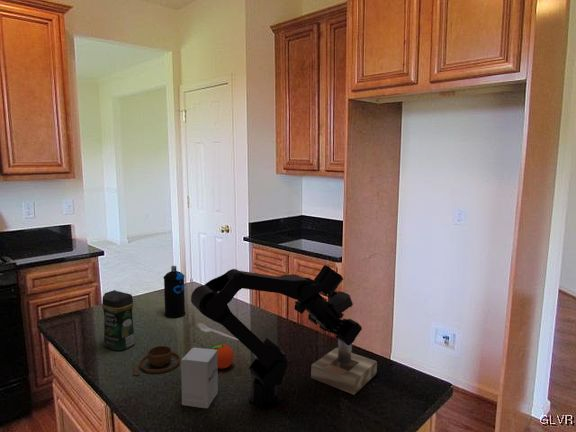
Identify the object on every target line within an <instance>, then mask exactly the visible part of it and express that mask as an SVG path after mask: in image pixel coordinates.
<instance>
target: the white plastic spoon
mask: <svg viewBox="0 0 576 432" xmlns="http://www.w3.org/2000/svg"><path fill="white" fill-rule="evenodd" d="M196 325H197V327H198V329H199V330H200V331H202V332H205V333H209V332H210V333H215V334H217V335H220V336H222V337H226V338H228V339H231V340H235V341H238V342H240V341H239V340H238V339H237V338H236V337H235V336H233V335H229V334H226V333H224V332H221V331H219V330H217V329H214V328H211V327H208V326H207V325H205V324H204V323H203V322H201V321H200V323H197V324H196Z"/></svg>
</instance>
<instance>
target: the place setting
mask: <svg viewBox="0 0 576 432" xmlns="http://www.w3.org/2000/svg"><path fill="white" fill-rule="evenodd" d="M172 358H173V359H175V361H176V363H174V364H173V365H171V366H169V367H165V366H166V365H168V363H169V362H170V361H171V360H172ZM147 361H148V362H149V364H151V365H152V366H154V367H156V368H160V367H165V368H161V369H148V368H145V367H144V364H145V363H146V362H147ZM180 363H181V357H180V355H179V354H178V353H177V352H173V351H172V348H171V347H170V346H167V345H158V346H154V347H152V348H150V349H149V350H148V351H147V355H146V356H144V357H142V358H141V359H140V361H139V367H140V370H142V371H143V372H145V373H147V374H163V373H166V372H170V371H172V370H174V369H176V368H177V367H178V365H180ZM131 369H132V370H133V372H132V375H133V376H135V377H137V376H140V374H141V372H140V371H138V370H136V369H135V367H134V366H132V367H131Z"/></svg>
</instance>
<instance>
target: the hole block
mask: <svg viewBox="0 0 576 432" xmlns="http://www.w3.org/2000/svg"><path fill="white" fill-rule="evenodd" d="M310 367H311V368H310V369H311V370H310V373H311V374H310V379H313V380H315V381H318V382H319V383H323V384H326V385H328V386H330V387H333V388H336V389H337V390H338V389H339V390H340V391H343V392H346V393H348V394H351V395H353V396H355V395H356V393H358V392H359V391H360V390H361V389H362V388H363V387H364V386H366V384H367V383H369V381H370V380H371V379H373V378H374V377H375V376H376V375H377V371H378V370H377V368H378V361H376V360H374V359H371V358H368V357H366V356H363V355H359V354H356V353H354V352H352V356H351V362H350V363H348V364H343V363H340V362H338V347H334V349H332V350H331V351H329V352H328V353H326V354H325V355H324V356H322V357H321V358H319V359H318V360H316V361H315V362H313V363H312V364H311V366H310Z"/></svg>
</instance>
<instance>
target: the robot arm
mask: <svg viewBox="0 0 576 432" xmlns="http://www.w3.org/2000/svg"><path fill="white" fill-rule="evenodd" d="M343 280H344V277H343V276H342V275H341V274H340V273H338V272H336V271H335V270H334V269H333V268H331V267H330V266H329V265H326V264H324V265H323V267H322V268H321V269H320V271H319V272H318V274H317V275H316V277H314V279H312V278H310V277H302V276H300V275H298V274H293V273H291V274H282V275H271V274H270V275H269V274H264V273H256V272H250V271H244V270H239V269H237V268H232V269H229V270H228V271H226V272H225V273H224V274H222V275H219V276H217V277H215V278H212V279H211V280H209V281H207V282H206V283H205V284H203V285H202V284H201V285H199V286H197V287H196V288H194V290H193V291H192V293H191V295H190V302H191V304H192V305H193V306H194V307H195V308H196V309H197V310H198V311H199V312H200V313H201V314H202V316H204V317H206V318H208V319H210V320H211V321H213V322H215V323H217V324H220V325H222V326H223V328H225V329H226V330H227V331H228V332H229V333H230V334H231V335H232V336H233V337H234V338H237V339H238V340H239V341H238V340H237V341H238V342H240V344H242V345H244V347H246V348H247V349H248V350H249V351H250V353H251V354H252V357H254V360H253V361H252V363H251V364H250V365H249V367H248V370H249V373H250V374H251V375H252V376H253V377H254V380H253V382H252V384H253V385H252V387H253V388H252V392H253V393H252V394H253V395H252V396H251V397H250V398H249V399H248V402H249V404H253V405H254V406H256V407H258V408H260V409H262V410H265V411H268V410H270V409H272V408H273V407H275V406H276V405H277V404H278V403H280V402H281V401H282V400H283V397H282V396H281V395H278V394H279V386H280V385H281V384H282V382H283V379H284V377H285V376H284V375H285V374H286V373H285V372H286V370H287V368H288V364H289V360H288V359H287V355H288V354H287V353H285V352H284V351H283V350H281V349H280V348H279V346H278V345H277V344H275V343H274V342H273V341H271V340H270V339H269V338H268V337H266V338H265V340H264V341H262V340H261V339H260V338H259V337H258V336H257V335H256V334H254V333H253V331H252V330H250V329H249V328H248V326H246V325H245V324H244V323H243V322H242V320H241V319H239V318H238V317H237V316H236V315H235V314H234V313H233V311H232V310H231V309H230V307H229V305H228V304H229V303H231V301H232V300H233V298H234V297H235V296H236V295H237V293H238V292H239V291H240V290H242V289H245V290H251V291H260V292H268V293H274V294H275V293H276V294H280V295H283V296H286V297H288V298H291V299H293V300H295V301H294V307H293V308H294V310H295V311H296V312H298V313H299V314H304V312H305V311H306V312H307V313H308V315H307V319H308V320H309V322H311V323H312V324H314V325H315V326H317V325H319V328H320V329H322V331H325V332H327V333H331V334H333V335H336V336H335V339H337V340H338V339H339V340H340V341H342V342H343V343H345V344H346V345H351V344H352V345H353V343H354V342H355V340H356V339H357V337H358V335H359V334H360V332H361V331H362V330H363V328H362V325H361V324H360V323H359V322H357V321H355V320H354V319H351V318H343V316H344V315H345V314H344V312H345V311H347V310H348V309H349V308H351V307H352V306H353V305H354V304H353V301H352V298H351V295H350V294H348V293H346V292H345V291H339V290H338V291H336V290H337V289H338V287H339V286H340V285H341V283H342V282H343ZM322 295H323V296H324V297H327V300H326V299H325V298H324V297H323V296H322ZM341 319H343V320H341ZM346 319H347V320H346ZM340 323H341V324H340Z"/></svg>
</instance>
